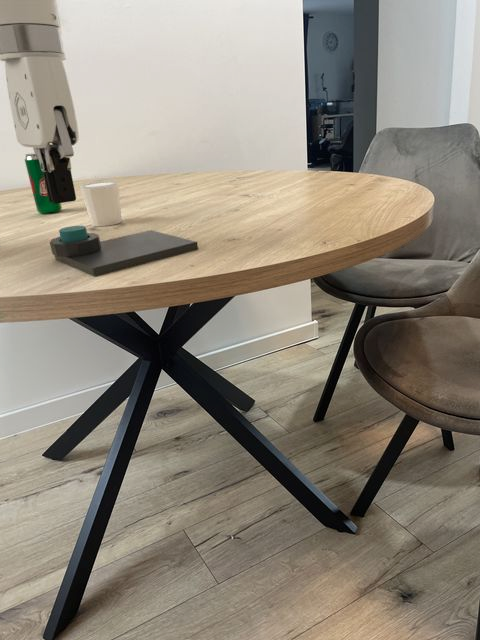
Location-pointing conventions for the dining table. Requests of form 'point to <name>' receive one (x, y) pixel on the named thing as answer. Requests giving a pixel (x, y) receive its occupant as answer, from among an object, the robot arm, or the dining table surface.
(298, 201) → the dining table surface
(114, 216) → the white cup
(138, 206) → the dining table surface
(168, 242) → the scale
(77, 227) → the button
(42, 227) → the dining table surface
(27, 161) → the soda can
